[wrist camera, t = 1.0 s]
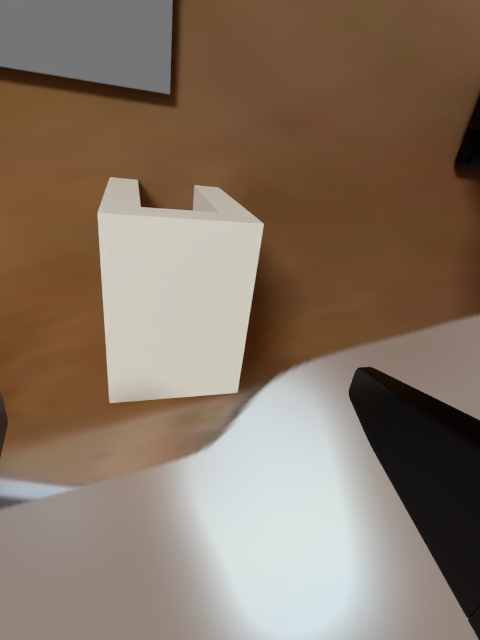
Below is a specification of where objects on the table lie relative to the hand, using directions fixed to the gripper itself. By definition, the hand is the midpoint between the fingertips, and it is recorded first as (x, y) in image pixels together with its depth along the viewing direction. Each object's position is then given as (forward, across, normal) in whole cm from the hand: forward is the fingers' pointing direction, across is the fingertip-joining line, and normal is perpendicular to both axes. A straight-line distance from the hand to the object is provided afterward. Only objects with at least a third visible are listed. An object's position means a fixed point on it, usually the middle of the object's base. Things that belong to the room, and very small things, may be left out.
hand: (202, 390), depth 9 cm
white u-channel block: (+11, 0, 0) cm, 11 cm away
